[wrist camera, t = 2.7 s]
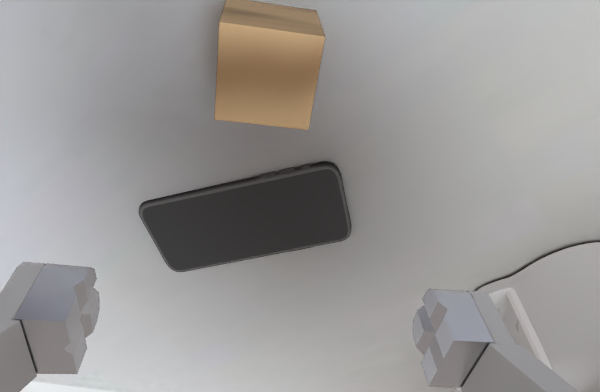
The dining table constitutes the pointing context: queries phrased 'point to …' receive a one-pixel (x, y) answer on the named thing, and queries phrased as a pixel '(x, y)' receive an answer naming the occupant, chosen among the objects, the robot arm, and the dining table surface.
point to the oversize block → (267, 64)
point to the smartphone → (249, 217)
